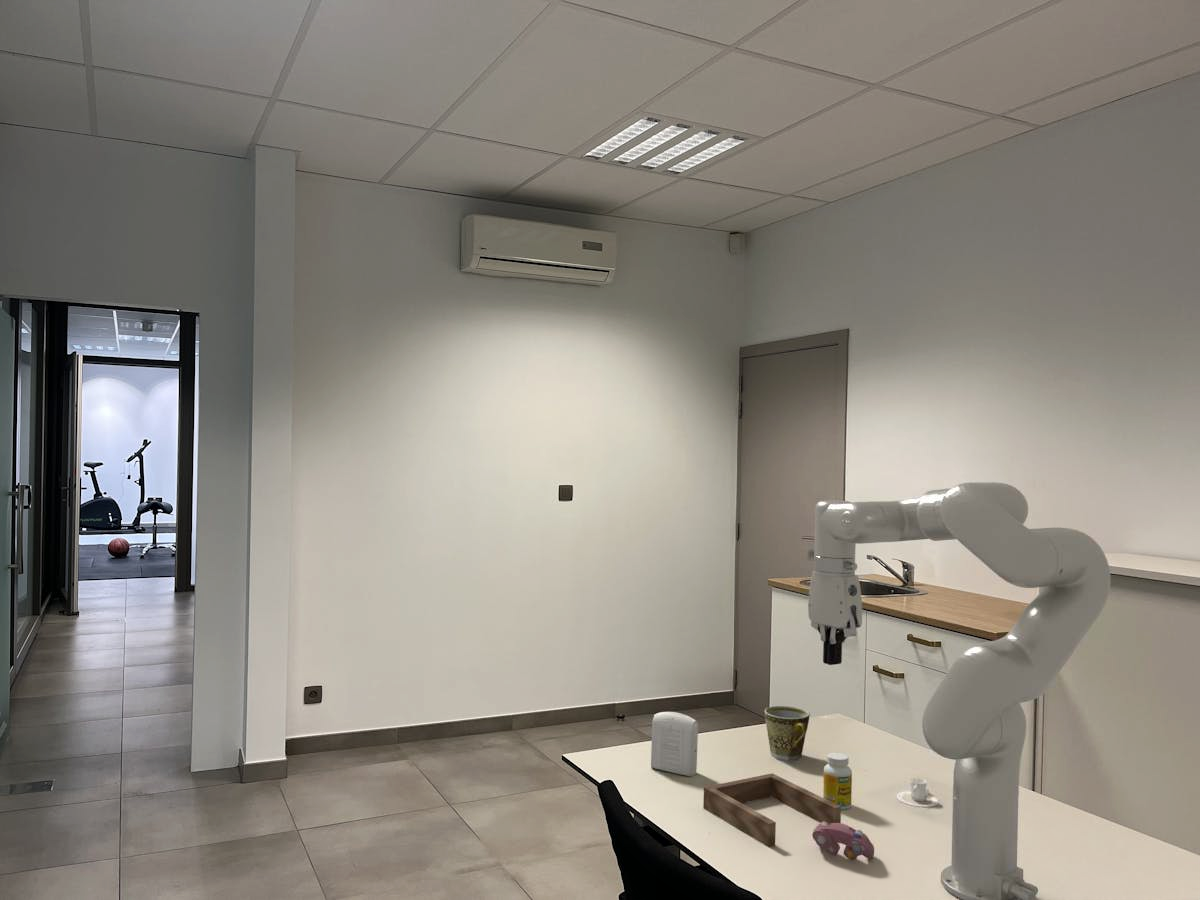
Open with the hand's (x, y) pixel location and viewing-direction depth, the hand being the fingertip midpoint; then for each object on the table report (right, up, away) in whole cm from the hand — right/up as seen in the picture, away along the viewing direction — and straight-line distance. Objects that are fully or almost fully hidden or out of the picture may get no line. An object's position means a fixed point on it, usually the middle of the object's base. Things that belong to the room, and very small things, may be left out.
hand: (832, 663), depth 169 cm
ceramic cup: (-1, -29, +33) cm, 44 cm away
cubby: (-12, -29, -1) cm, 31 cm away
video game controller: (-2, -29, -16) cm, 33 cm away
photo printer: (-28, -29, +24) cm, 46 cm away
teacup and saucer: (+23, -30, +10) cm, 39 cm away
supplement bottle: (+3, -29, +6) cm, 30 cm away
